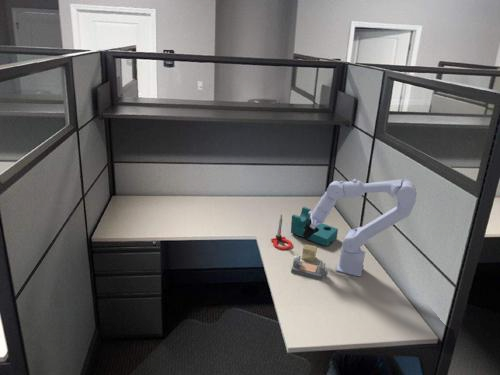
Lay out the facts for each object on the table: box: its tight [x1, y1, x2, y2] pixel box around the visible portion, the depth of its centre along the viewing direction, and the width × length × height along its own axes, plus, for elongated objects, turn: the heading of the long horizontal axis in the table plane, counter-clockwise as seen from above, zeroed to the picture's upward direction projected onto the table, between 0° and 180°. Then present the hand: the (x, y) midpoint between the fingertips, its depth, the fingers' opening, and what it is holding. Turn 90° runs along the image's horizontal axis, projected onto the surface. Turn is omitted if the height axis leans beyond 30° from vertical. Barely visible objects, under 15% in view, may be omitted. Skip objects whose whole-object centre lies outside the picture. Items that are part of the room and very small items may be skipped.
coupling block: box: [301, 244, 318, 263], centre depth 167 cm, size 5×4×5 cm
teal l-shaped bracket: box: [290, 206, 339, 247], centre depth 184 cm, size 18×11×10 cm, turn 54°
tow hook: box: [270, 214, 294, 251], centre depth 174 cm, size 8×13×9 cm
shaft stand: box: [290, 254, 327, 281], centre depth 157 cm, size 12×7×6 cm, turn 70°
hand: (306, 233), depth 164 cm, fingers open, 7 cm apart
